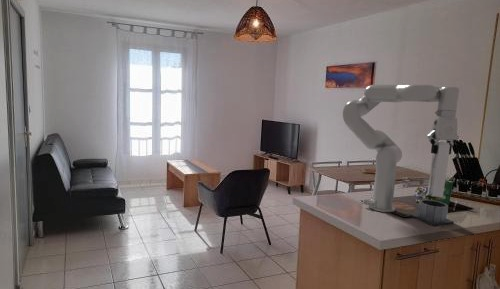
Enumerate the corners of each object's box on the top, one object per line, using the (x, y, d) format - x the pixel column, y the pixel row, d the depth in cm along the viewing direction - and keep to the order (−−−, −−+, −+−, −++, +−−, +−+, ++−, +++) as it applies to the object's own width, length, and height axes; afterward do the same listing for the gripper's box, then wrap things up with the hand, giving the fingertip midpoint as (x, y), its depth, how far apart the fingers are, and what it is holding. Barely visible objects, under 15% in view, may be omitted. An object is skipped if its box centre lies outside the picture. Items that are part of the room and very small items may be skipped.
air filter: (445, 197, 164) (453, 143, 160) (431, 196, 164) (438, 142, 160) (438, 193, 170) (446, 141, 166) (424, 192, 170) (431, 140, 167)
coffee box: (449, 204, 198) (453, 181, 196) (449, 205, 195) (453, 181, 193) (433, 201, 202) (436, 178, 200) (433, 202, 199) (436, 179, 198)
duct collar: (433, 226, 160) (435, 208, 159) (410, 216, 172) (412, 200, 171) (453, 223, 165) (456, 206, 164) (429, 214, 177) (431, 198, 176)
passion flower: (416, 211, 198) (408, 191, 203) (434, 208, 199) (426, 188, 204) (425, 206, 188) (416, 184, 193) (444, 202, 189) (436, 181, 194)
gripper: (435, 114, 156) (429, 154, 159) (469, 115, 160) (463, 155, 162) (423, 112, 164) (418, 151, 166) (456, 114, 167) (451, 152, 170)
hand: (440, 153), depth 164 cm, fingers closed on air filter, 6 cm apart
